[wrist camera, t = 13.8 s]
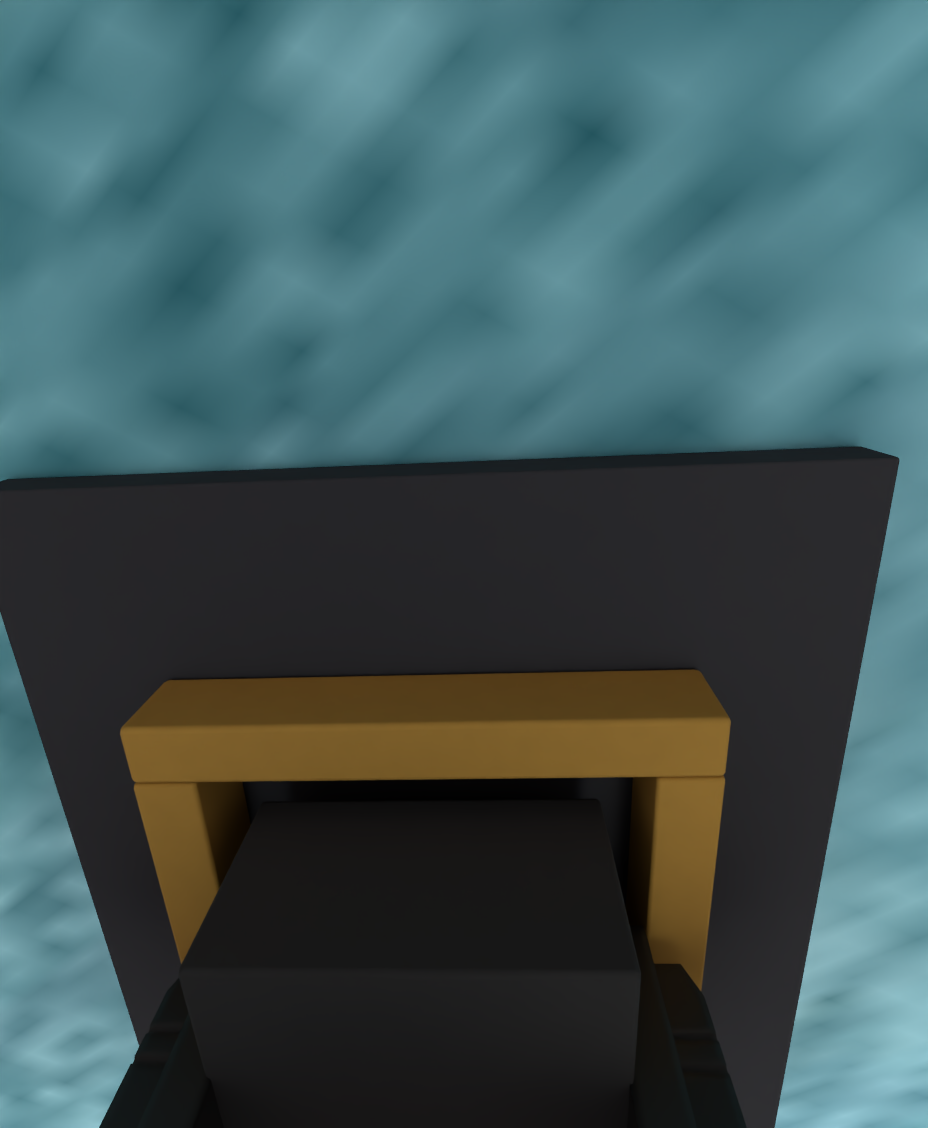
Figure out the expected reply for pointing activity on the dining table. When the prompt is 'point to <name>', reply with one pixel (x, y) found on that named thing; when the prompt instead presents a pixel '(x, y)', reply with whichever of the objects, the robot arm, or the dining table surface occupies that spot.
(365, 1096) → the black block
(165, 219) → the dining table surface
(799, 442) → the dining table surface
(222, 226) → the dining table surface
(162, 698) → the base pad
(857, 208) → the dining table surface
